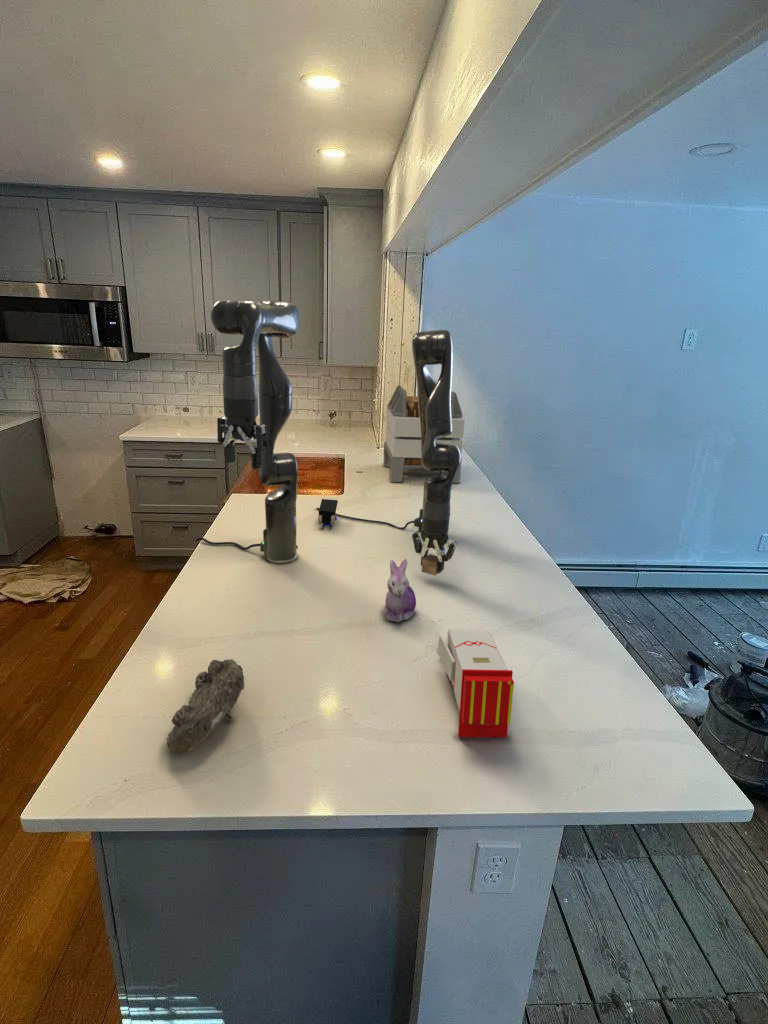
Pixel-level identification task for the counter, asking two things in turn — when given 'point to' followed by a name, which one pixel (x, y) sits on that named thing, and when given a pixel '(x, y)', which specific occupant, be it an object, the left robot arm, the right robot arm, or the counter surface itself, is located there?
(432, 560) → the block
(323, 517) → the figurine character
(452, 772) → the counter surface
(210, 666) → the fossil
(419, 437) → the grey slatted planter box
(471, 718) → the toy
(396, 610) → the figurine
